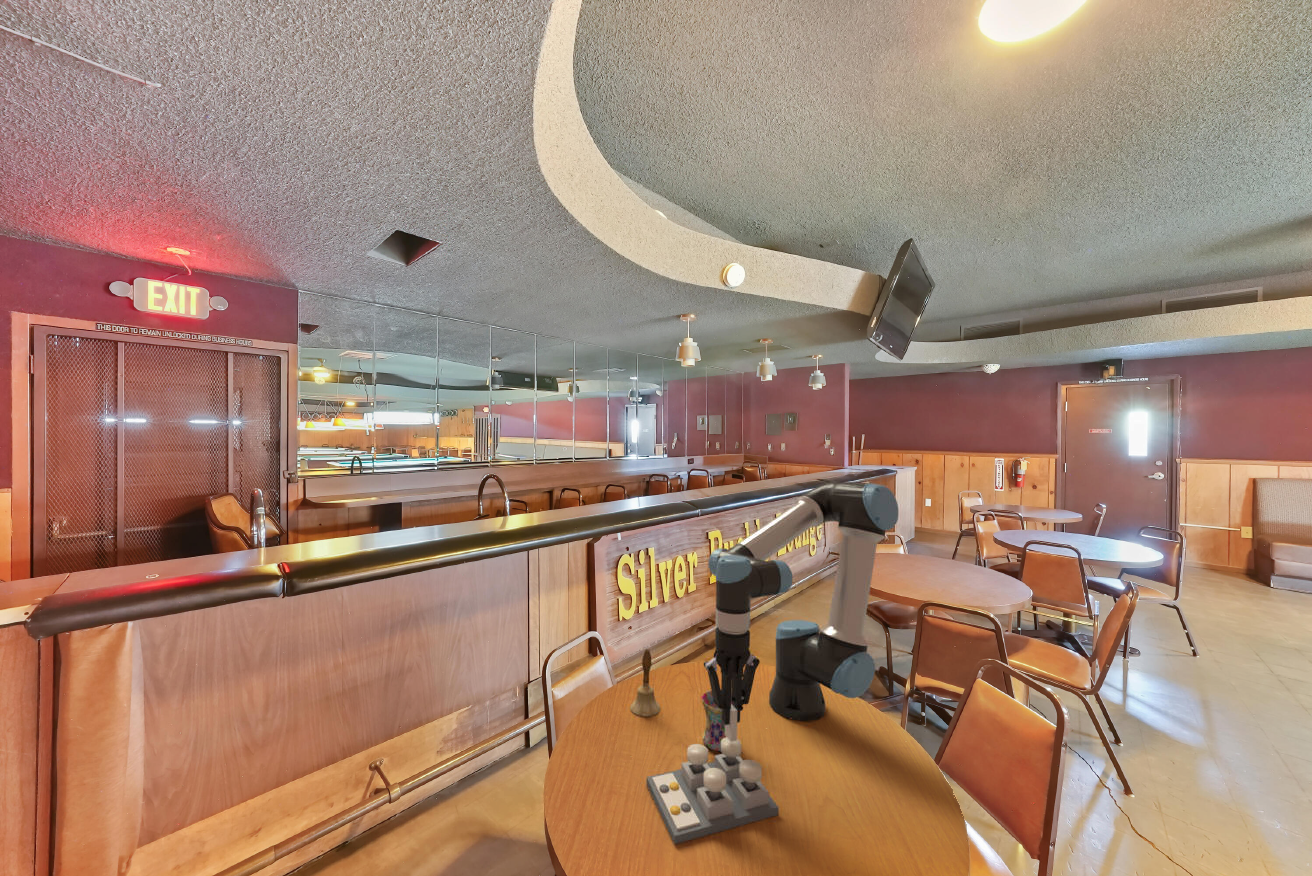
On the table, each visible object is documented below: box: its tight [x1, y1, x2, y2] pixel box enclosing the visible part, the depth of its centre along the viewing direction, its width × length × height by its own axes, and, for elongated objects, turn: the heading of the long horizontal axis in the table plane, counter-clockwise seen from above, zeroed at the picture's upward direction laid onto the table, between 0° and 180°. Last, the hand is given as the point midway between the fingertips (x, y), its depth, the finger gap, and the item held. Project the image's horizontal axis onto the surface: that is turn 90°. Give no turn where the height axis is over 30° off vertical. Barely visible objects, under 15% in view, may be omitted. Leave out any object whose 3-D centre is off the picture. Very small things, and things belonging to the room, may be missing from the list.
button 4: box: [704, 768, 726, 800], centre depth 91 cm, size 4×4×4 cm
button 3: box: [686, 743, 709, 773], centre depth 99 cm, size 4×4×4 cm
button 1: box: [720, 737, 742, 765], centre depth 101 cm, size 4×4×4 cm
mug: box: [700, 689, 732, 752], centre depth 115 cm, size 12×9×11 cm
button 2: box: [739, 759, 763, 790], centre depth 94 cm, size 4×4×4 cm
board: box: [646, 753, 780, 845], centre depth 95 cm, size 22×16×4 cm
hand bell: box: [629, 648, 661, 718], centre depth 128 cm, size 8×8×16 cm
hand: (730, 737), depth 101 cm, fingers closed
